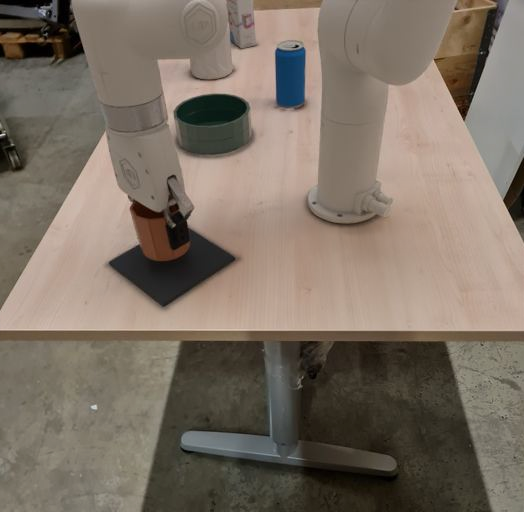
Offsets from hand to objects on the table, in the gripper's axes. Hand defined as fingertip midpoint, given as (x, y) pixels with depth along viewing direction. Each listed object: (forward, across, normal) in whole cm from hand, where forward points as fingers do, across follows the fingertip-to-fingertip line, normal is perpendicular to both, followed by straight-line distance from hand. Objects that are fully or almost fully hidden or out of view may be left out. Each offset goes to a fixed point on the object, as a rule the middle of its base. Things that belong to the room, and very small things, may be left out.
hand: (163, 233), depth 70 cm
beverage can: (+5, -24, +53) cm, 59 cm away
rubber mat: (+6, 0, 0) cm, 6 cm away
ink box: (+5, -62, +74) cm, 97 cm away
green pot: (+5, -25, +31) cm, 40 cm away
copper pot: (+2, 0, 0) cm, 2 cm away
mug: (+5, -54, +55) cm, 77 cm away
